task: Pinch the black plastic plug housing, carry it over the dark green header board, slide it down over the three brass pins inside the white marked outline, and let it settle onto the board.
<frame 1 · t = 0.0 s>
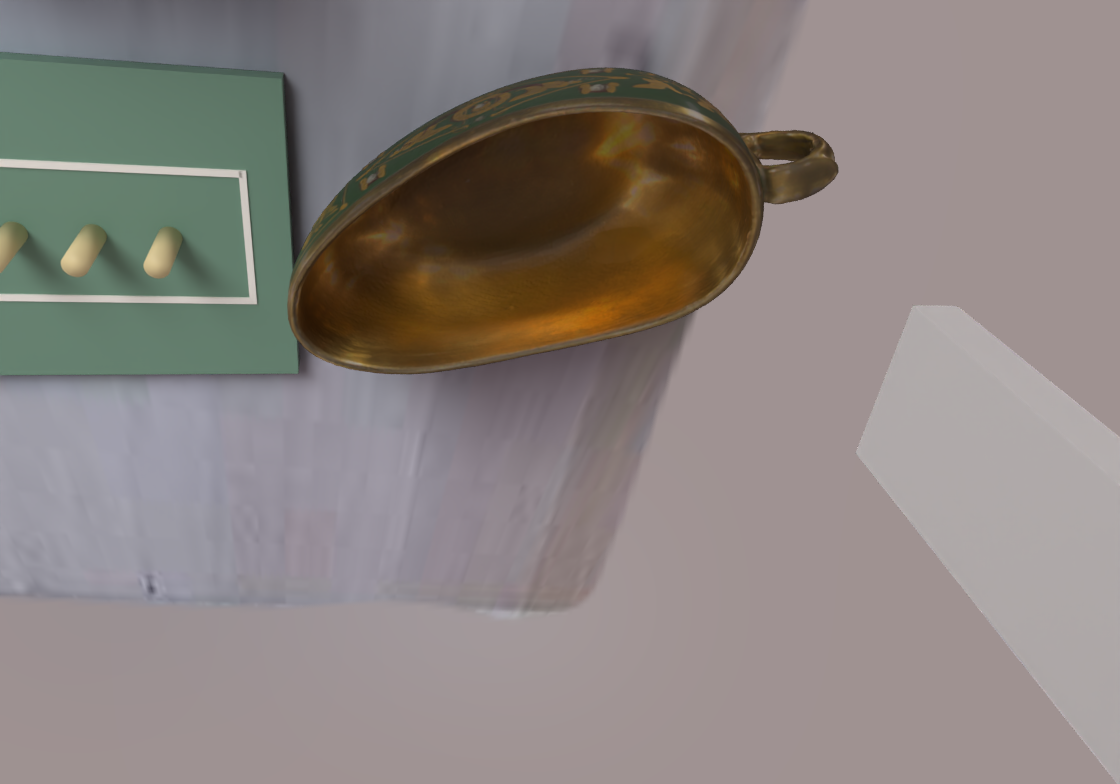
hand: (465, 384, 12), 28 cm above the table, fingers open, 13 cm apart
pin board: (99, 225, 37), on the table
green gold gravy boat: (523, 176, 40), on the table
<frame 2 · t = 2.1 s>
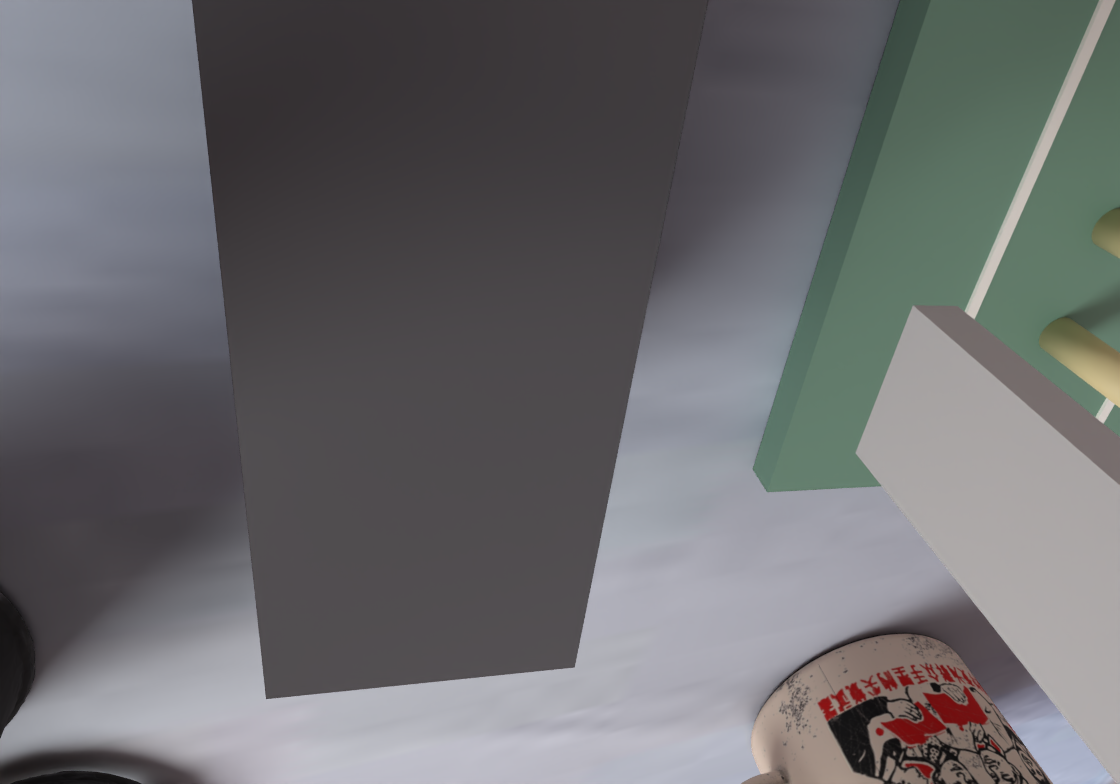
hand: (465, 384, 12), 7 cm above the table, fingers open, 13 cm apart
plug housing: (402, 183, 17), on the table
pin board: (1081, 211, 21), on the table
teacup with lid: (816, 704, 32), on the table
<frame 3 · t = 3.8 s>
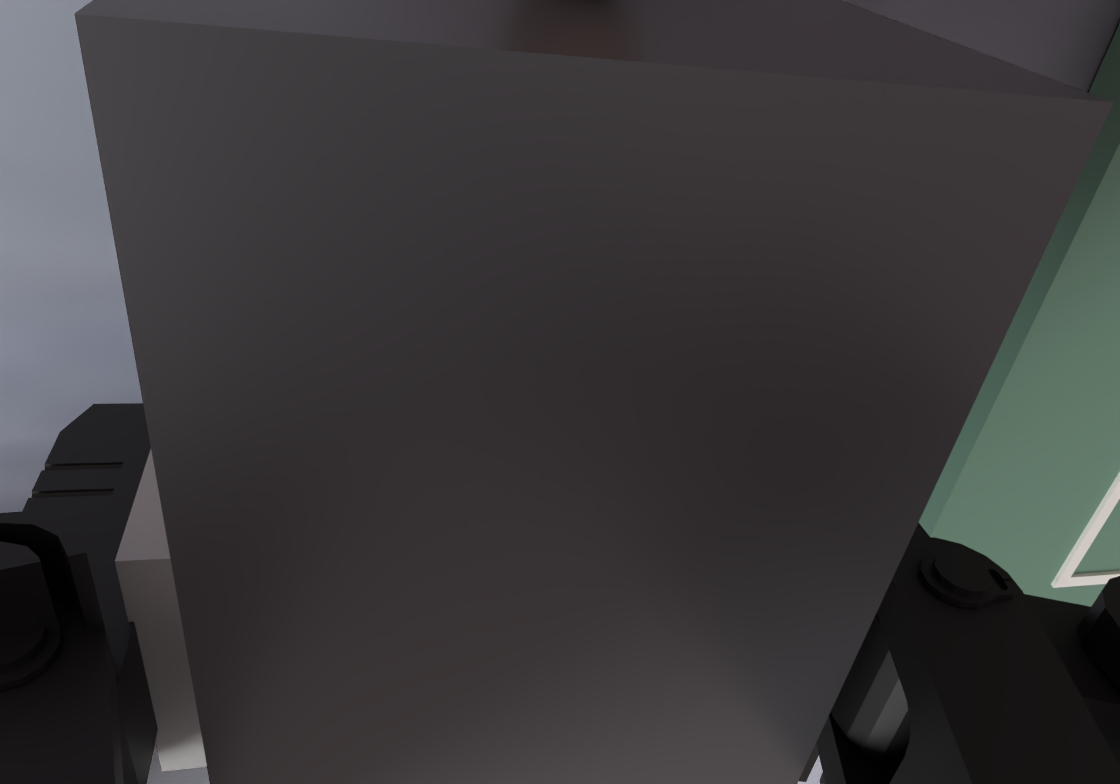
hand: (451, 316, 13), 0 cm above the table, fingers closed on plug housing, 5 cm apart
plug housing: (449, 307, 13), on the table, touching gripper
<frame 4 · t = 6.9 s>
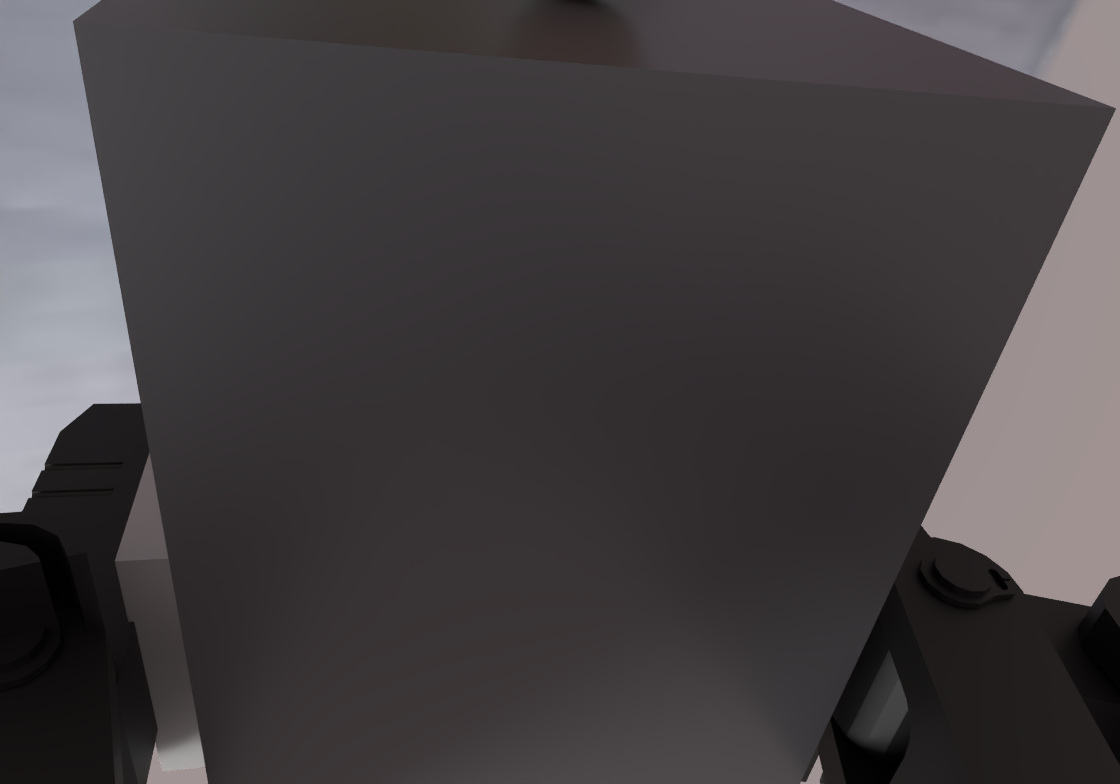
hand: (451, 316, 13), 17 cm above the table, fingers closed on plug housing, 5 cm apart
plug housing: (449, 309, 13), point 17 cm above the table, touching gripper
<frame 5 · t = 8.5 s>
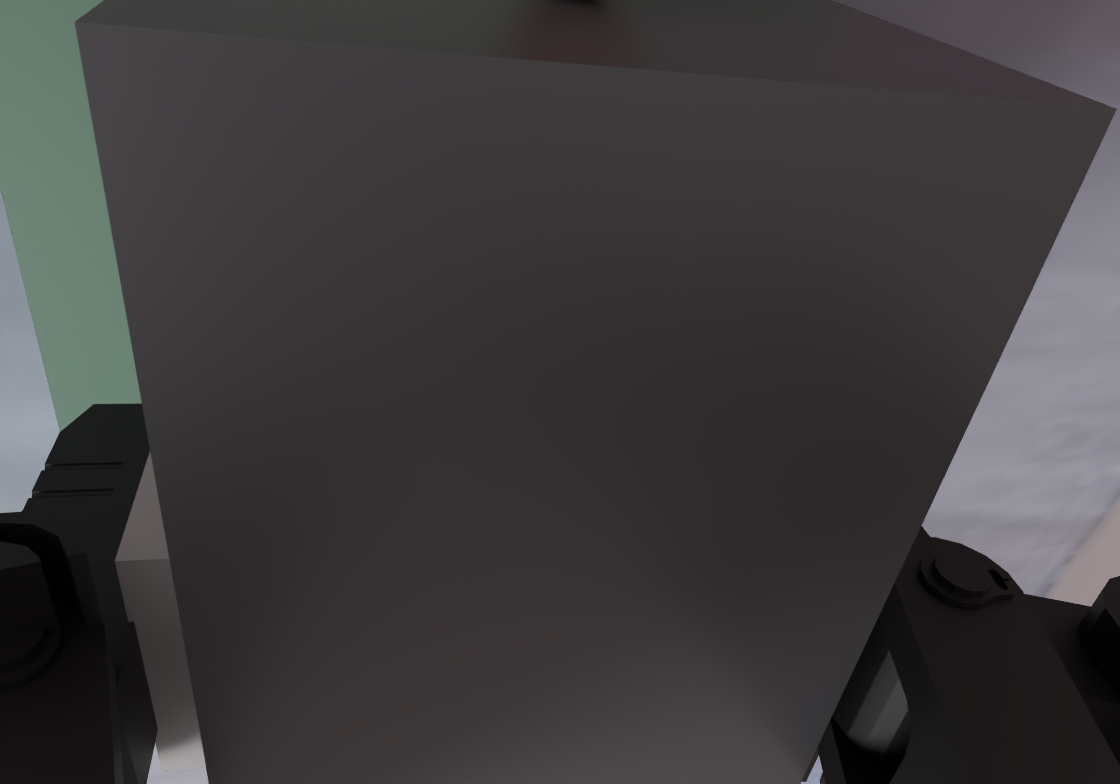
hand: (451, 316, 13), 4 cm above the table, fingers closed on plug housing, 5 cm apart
plug housing: (449, 309, 13), point 4 cm above the table, touching gripper
pin board: (422, 207, 17), on the table
when the fingers open (2 cm above the table, at t = 9.9 s): plug housing stays where it is, point 2 cm above the table.
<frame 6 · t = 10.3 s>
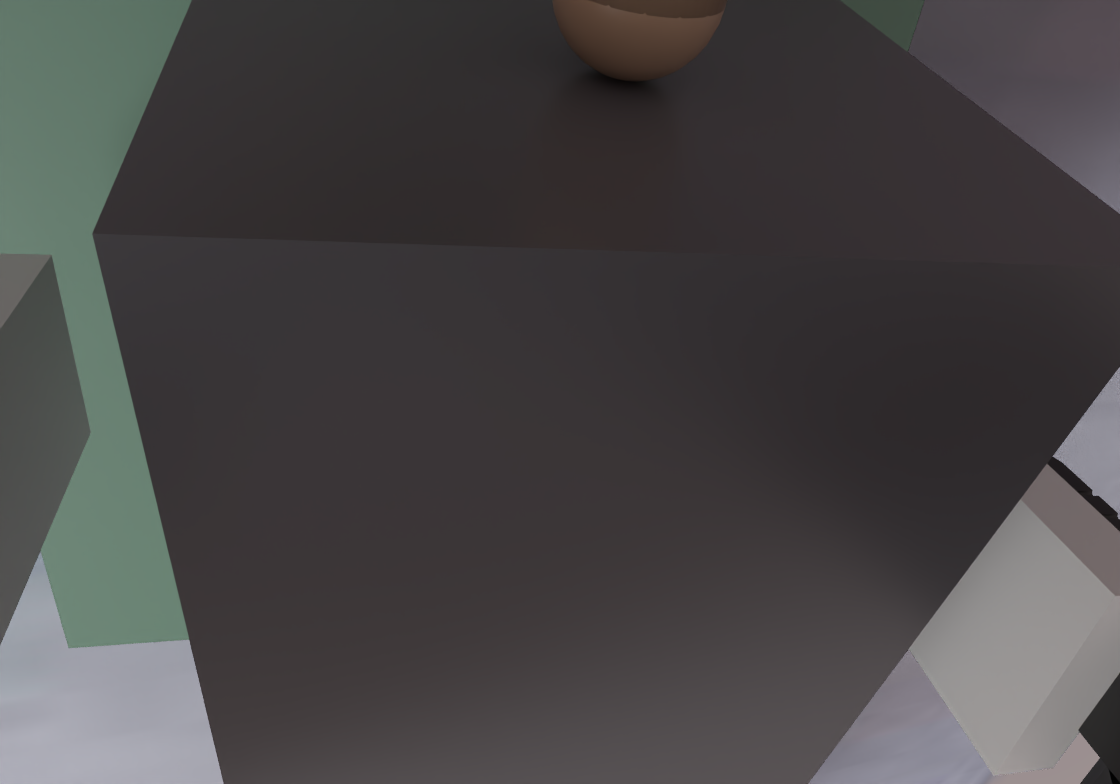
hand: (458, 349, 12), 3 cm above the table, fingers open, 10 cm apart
plug housing: (461, 278, 13), point 2 cm above the table, tilted 8°
pin board: (441, 262, 15), on the table
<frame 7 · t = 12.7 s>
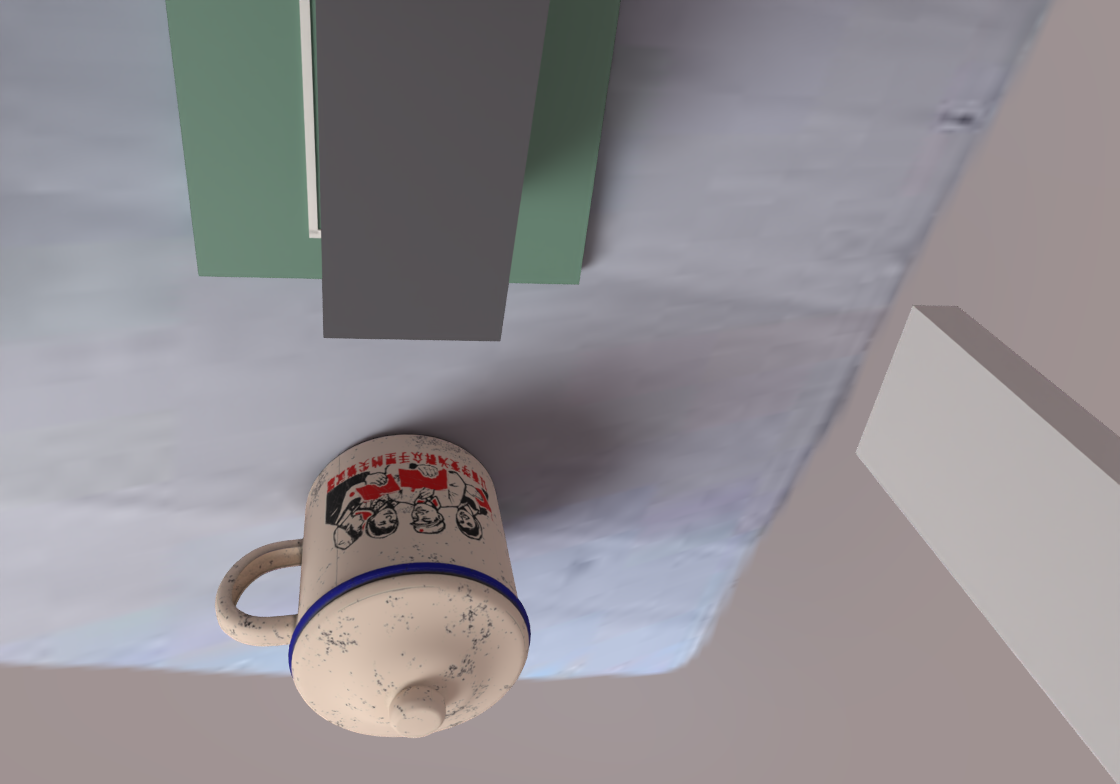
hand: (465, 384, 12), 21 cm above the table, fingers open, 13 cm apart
plug housing: (409, 44, 27), point 2 cm above the table, tilted 8°, touching pin board
pin board: (401, 50, 28), on the table
teacup with lid: (370, 503, 39), on the table
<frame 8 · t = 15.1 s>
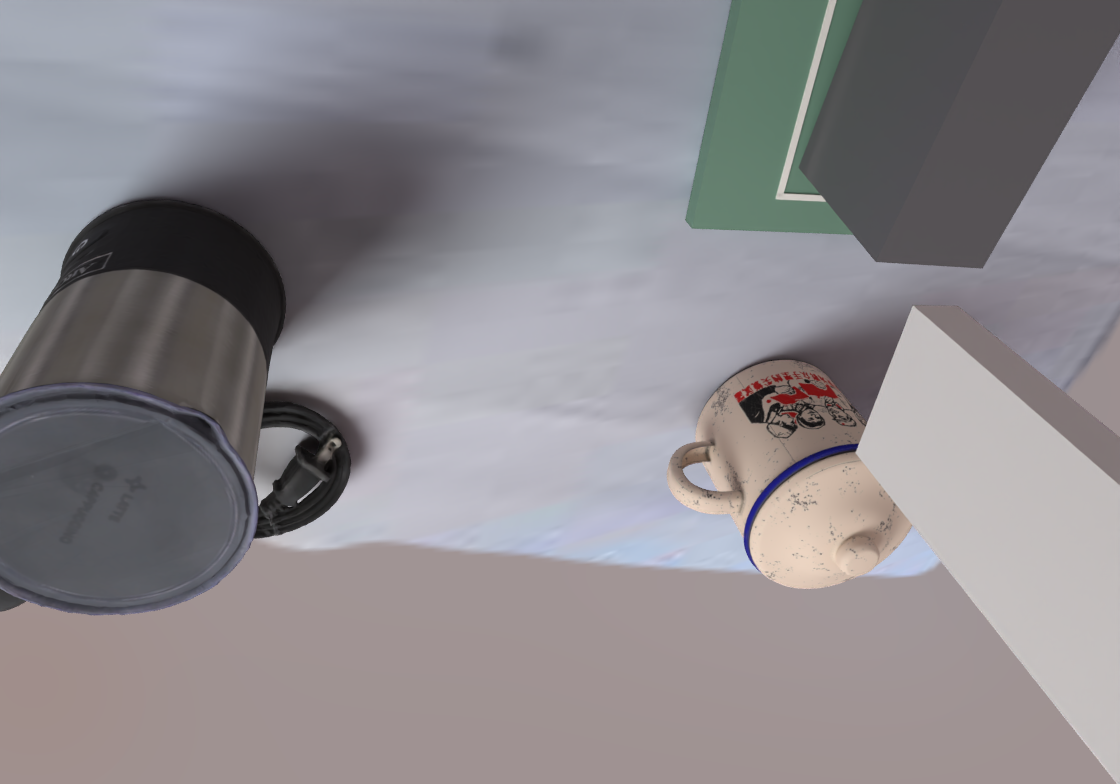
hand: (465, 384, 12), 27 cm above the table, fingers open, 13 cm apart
plug housing: (895, 55, 36), point 2 cm above the table, tilted 8°, touching green gold gravy boat, pin board
pin board: (866, 58, 38), on the table
teacup with lid: (739, 418, 49), on the table
milk frother: (227, 362, 40), on the table
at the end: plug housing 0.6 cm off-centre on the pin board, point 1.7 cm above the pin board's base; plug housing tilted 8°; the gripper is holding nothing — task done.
